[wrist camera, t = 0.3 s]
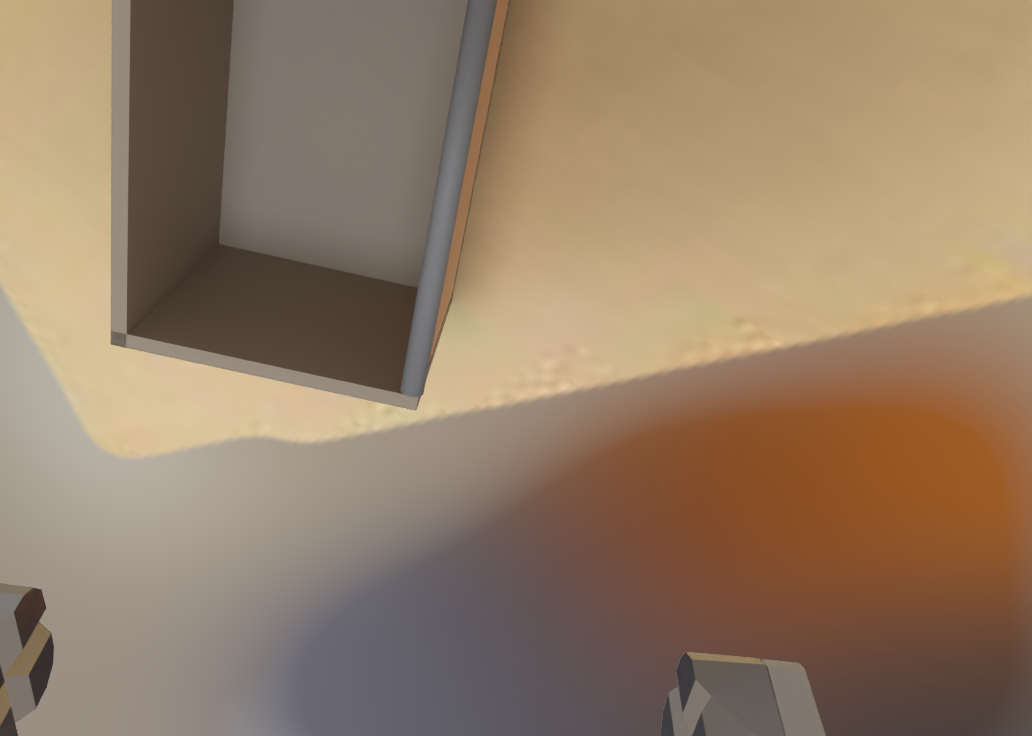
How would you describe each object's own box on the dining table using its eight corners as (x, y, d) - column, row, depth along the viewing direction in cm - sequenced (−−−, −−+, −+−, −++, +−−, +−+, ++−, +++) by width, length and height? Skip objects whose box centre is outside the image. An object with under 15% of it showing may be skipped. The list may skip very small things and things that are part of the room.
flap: (501, -61, 49) (474, -43, 37) (523, -55, 49) (503, -36, 37) (436, 290, 59) (398, 394, 47) (455, 294, 59) (421, 399, 47)
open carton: (231, -149, 49) (112, -160, 37) (525, -79, 50) (504, -67, 37) (209, 249, 60) (110, 344, 48) (451, 303, 60) (416, 410, 48)
